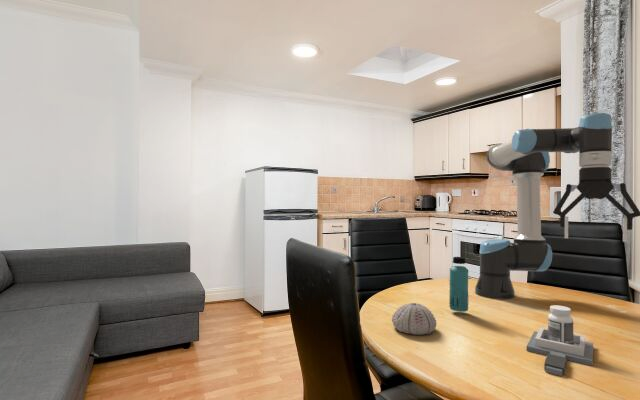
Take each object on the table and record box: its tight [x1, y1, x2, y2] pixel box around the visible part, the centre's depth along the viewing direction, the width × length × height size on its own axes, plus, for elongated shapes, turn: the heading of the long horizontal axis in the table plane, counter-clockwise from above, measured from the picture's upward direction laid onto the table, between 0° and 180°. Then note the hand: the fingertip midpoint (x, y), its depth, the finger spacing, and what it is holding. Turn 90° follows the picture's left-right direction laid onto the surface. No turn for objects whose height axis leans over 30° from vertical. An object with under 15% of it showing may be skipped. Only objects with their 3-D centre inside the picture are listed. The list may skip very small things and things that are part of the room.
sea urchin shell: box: [391, 302, 437, 336], centre depth 111 cm, size 13×14×8 cm
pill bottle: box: [547, 304, 574, 345], centre depth 97 cm, size 6×6×10 cm
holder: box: [526, 326, 594, 377], centre depth 92 cm, size 14×25×3 cm, turn 142°
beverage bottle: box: [448, 256, 470, 313], centre depth 127 cm, size 6×7×20 cm
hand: (594, 239), depth 105 cm, fingers open, 13 cm apart
